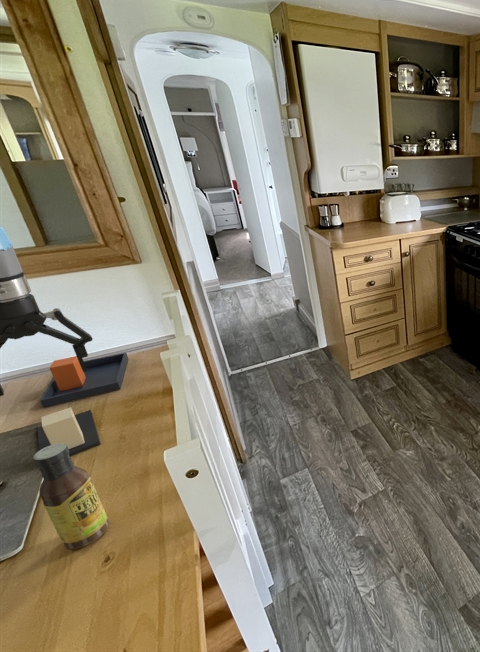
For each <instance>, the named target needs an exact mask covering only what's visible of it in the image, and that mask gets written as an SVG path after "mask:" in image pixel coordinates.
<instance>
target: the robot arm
mask: <svg viewBox="0 0 480 652" xmlns="http://www.w3.org/2000/svg"><path fill="white" fill-rule="evenodd" d="M31 292H32V289H31V286H30V284H29V282H28V280H27V277H26V274H24V271H23V268H22V266H21V263H20V260H19V258H18V256H17V254H16V251H15V248H14V246H13V242H12V240H11V239H10V238H9V236H8V234H7V233H6V230H5V229H4V228H3V227H2V226H0V349H1V348H2V347H3V346H4V345H5V344H6V343H7V341H8V340H9V339H10V340H19V339H21V338H24V337H32V336H35V335H36V334H38V333H40V334H43V335H46V336H47V335H48V336H49V337H52V338H55V339H57V340H60V341H63V342H66V343H68V344H71V346H72V348H73V351H74V353H75V356H77V358H78V361H79V363H80V366H81V368H82V370H83V372H85V371H87V369H86V366H85V364H84V361H85V360H84V358H88V356H89V354H88V351H87V349H86V346H85V345H86V344H87V343H89V342H92V341H93V340H94V338H93V337H92V335H91V334H90V333H88V331H86V330H85V329H83V328H82V327H80V326H79V325H77V324H76V323H74V322H73V321H72V320H70V319H69V318H67V317H66V316H65V315H64V314H63V312H62V310H61V309H60V308H54V309H52V310H51V311H48V312H44V313H43V312H42V311H41V310H40V307H39V305H38V303H37V301H36V298H35V296H34V294H32V293H31ZM47 319H51V320H52V321H58V322H59V323H60V324H61V325H63V326H64V327H66V328H67V329H68V330H69V331H71V332H72V333H74V334H76V335H77V336H79V337H76V336H74V335H71V334H69V333H66V332H63V331H61V330H58V329H57V328H54V327H52V326H49V325H47V324H45V322H46V321H47ZM4 391H5V390H4V388H3V387H2V385H1V383H0V397H2V396H5V392H4Z"/></svg>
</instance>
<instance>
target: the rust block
mask: <svg viewBox="0 0 480 652" xmlns="http://www.w3.org/2000/svg"><path fill="white" fill-rule="evenodd" d="M49 366H50V367H49V371H50V373H51V375H52V378H53V377H54V379H55V382H56V384H57V386H58V388H59V390H60V391H64V390H68V389H72V388H77V387H81V386H83V385H84V382H85V380H86V376H85V374H84V372H83V370H82V368H81V366H80V363H79V361H78V358H77V356H76V355H75V356H69V357H65V358H59V359H55V360H53V362H52V363H51V365H49Z"/></svg>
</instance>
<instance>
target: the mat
mask: <svg viewBox="0 0 480 652" xmlns="http://www.w3.org/2000/svg"><path fill="white" fill-rule="evenodd" d="M74 416H75V418H76V420H77V422H78V424H79V427H80V429H81V431H82V433H83V438H84V442H85V443H84V444H81V445H78V446H76V447H73V448H70V449H69V455H70V457H71V456H74V455H76V454H79V453H82V452H84V451H85V452H86V451H88V450H89V449H93V448H94V447H98V446H100V445H102V444H101V439H100V437H99V433H98V430H97V427H96V423H95V419H94V416H93V413H92V409H89V410H86V411H82V412H79V413H77V414H74ZM36 430H37V441H38V451H40V450H41V449H43V448H45V447H48V446H50V445H51V444H50V442H49V440H48V438H47V436H46V434H45V432H44V430H43V428H42V425H41V426H38V427H37V428H36Z"/></svg>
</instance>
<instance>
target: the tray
mask: <svg viewBox="0 0 480 652" xmlns="http://www.w3.org/2000/svg"><path fill="white" fill-rule="evenodd" d="M83 361H84V364H85V366H86V369H87V371H85V372H84V374H85V376H86V380H85V382H84V385H83V386H81V387H77V388H72V389H68V390H64V391H60V390H59V388H58V386H57V384H56V382H55V379H54V377H53V376H52V378H51V380H50V382H49V384H48V385H47V387H46V389H45V391H44V392H43V394H42V396H41V398H40V399H39V402H40V404H41V406H42V408H43V409H47V408H50V407H51V408H52V407H54V406H58V405H62V404H67V403H71V402H75V401H80V400H83V399H86V398H87V399H88V398H91V397H95V396H99V395H104V394H107V393H113V392H116V391H119V390H121V389H122V386H123V381H124V378H125V375H126V370H127V367H128V363H129V355H128V353H127V352H123V353H116V354H112V355H107V356H103V357H97V358H93V359H92V358H91V359H88V360H83Z"/></svg>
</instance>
